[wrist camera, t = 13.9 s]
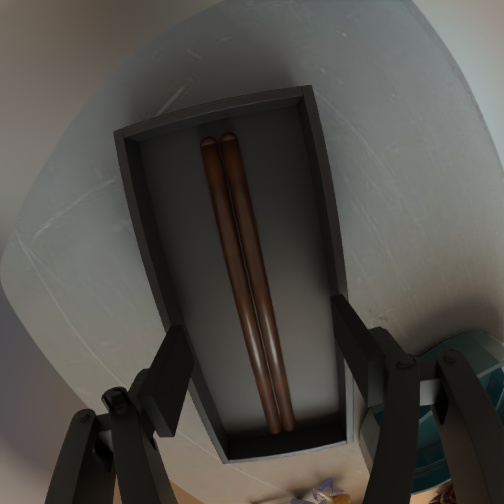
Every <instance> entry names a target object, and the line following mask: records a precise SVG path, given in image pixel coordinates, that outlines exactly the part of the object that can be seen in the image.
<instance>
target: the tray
mask: <svg viewBox="0 0 504 504" xmlns="http://www.w3.org/2000/svg"><path fill="white" fill-rule="evenodd" d="M225 132H233V133H234V134H236V135H237V137H238V140H239V145H240V150H241V154H242V159H243V164H244V169H245V173H246V178H247V183H248V188H249V192H250V197H251V202H252V207H253V211H254V216H255V221H256V226H257V231H258V236H259V240H260V245H261V250H262V255H263V260H264V265H265V270H266V275H267V280H268V285H269V290H270V295H271V300H272V305H273V310H274V315H275V320H276V325H277V330H278V335H279V340H280V345H281V350H282V355H283V360H284V365H285V371H286V376H287V381H288V386H289V391H290V396H291V402H292V407H293V412H294V417H295V423H296V427H295V429H294V430H292V431H286V430H284V428H283V425H282V421H281V417H280V412H279V408H278V404H277V399H276V395H275V391H274V387H273V382H272V378H271V373H270V369H269V365H268V360H267V356H266V352H265V347H264V343H263V338H262V334H261V330H260V325H259V321H258V316H257V312H256V307H255V303H254V298H253V294H252V289H251V285H250V280H249V276H248V271H247V267H246V262H245V258H244V253H243V249H242V244H241V240H240V235H239V230H238V226H237V221H236V217H235V212H234V208H233V203H232V198H231V194H230V189H229V184H228V180H227V175H226V170H225V166H224V161H223V156H222V152H221V147H220V137H221V135H222V134H224V133H225ZM113 133H114V139H115V145H116V150H117V156H118V161H119V166H120V171H121V176H122V181H123V185H124V190H125V194H126V199H127V203H128V207H129V212H130V216H131V220H132V224H133V228H134V231H135V235H136V239H137V243H138V246H139V250H140V254H141V257H142V261H143V264H144V267H145V271H146V274H147V277H148V281H149V284H150V287H151V290H152V293H153V296H154V300H155V303H156V306H157V309H158V312H159V315H160V317H161V320H162V323H163V326H164V329H165V332H166V334H167V332H168V330H169V328H170V326H175V325H183V328H184V331H185V334H186V337H187V340H188V343H189V346H190V349H191V352H192V354H193V357H194V360H195V363H194V367H193V370H192V374H191V378H190V381H189V385H188V390H189V393H190V395H191V397H192V400H193V402H194V404H195V407H196V409H197V411H198V413H199V416H200V418H201V420H202V422H203V424H204V426H205V429H206V431H207V433H208V435H209V437H210V439H211V441H212V443H213V445H214V447H215V449H216V451H217V453H218V455H219V457H220V459H221V461H222V463H223V464H229V463H242V462H251V461H260V460H268V459H275V458H281V457H287V456H293V455H299V454H304V453H309V452H314V451H318V450H323V449H327V448H331V447H336V446H340V445H343V444H346V443H351V442H353V421H354V405H353V375H352V373H351V371H350V369H349V367H348V364H347V362H346V360H345V358H344V356H343V354H342V352H341V350H340V348H339V346H338V344H337V342H336V339H335V337H334V331H333V321H332V312H331V303H330V297H331V296H335V295H340V294H343V296H344V297H345V298H346V300H347V301H348V291H347V281H346V272H345V263H344V255H343V247H342V239H341V232H340V225H339V218H338V212H337V205H336V199H335V193H334V187H333V182H332V176H331V171H330V165H329V160H328V155H327V150H326V145H325V140H324V136H323V131H322V126H321V122H320V118H319V113H318V109H317V105H316V101H315V97H314V93H313V89H312V85H305V86H297V87H289V88H282V89H275V90H269V91H263V92H257V93H251V94H246V95H241V96H236V97H231V98H226V99H222V100H217V101H213V102H209V103H205V104H201V105H197V106H193V107H189V108H185V109H182V110H178V111H174V112H171V113H167V114H164V115H161V116H157V117H154V118H151V119H148V120H145V121H142V122H139V123H136V124H133V125H130V126H127V127H124V128H123V129H119V130H116V131H114V132H113ZM207 136H211V137H214V138H215V139H216V140H217V142H218V146H219V150H220V155H221V160H222V164H223V169H224V174H225V178H226V183H227V188H228V192H229V197H230V202H231V206H232V211H233V215H234V220H235V225H236V229H237V234H238V238H239V243H240V247H241V252H242V256H243V261H244V265H245V270H246V274H247V279H248V283H249V288H250V292H251V297H252V301H253V305H254V310H255V314H256V319H257V323H258V327H259V332H260V336H261V341H262V345H263V349H264V354H265V358H266V362H267V367H268V371H269V375H270V379H271V384H272V388H273V392H274V397H275V401H276V405H277V409H278V414H279V418H280V422H281V426H282V429H281V431H280V432H279V433H277V434H273V433H271V432H270V431H269V428H268V425H267V421H266V418H265V414H264V411H263V407H262V403H261V400H260V396H259V393H258V389H257V385H256V381H255V378H254V374H253V370H252V366H251V363H250V359H249V355H248V351H247V347H246V344H245V340H244V336H243V332H242V328H241V324H240V320H239V316H238V312H237V308H236V304H235V300H234V296H233V292H232V288H231V284H230V280H229V276H228V271H227V267H226V263H225V259H224V255H223V250H222V246H221V242H220V238H219V233H218V229H217V225H216V220H215V216H214V211H213V207H212V202H211V198H210V193H209V189H208V184H207V180H206V175H205V170H204V166H203V161H202V156H201V152H200V146H199V145H200V142H201V140H202V139H203V138H205V137H207Z"/></svg>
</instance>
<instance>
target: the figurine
mask: <svg viewBox="0 0 504 504" xmlns="http://www.w3.org/2000/svg"><path fill="white" fill-rule="evenodd" d="M429 504H457V502H456V497H455V493H454V488H453V484H451V485H449V486H448V487H447V488H446V489H445V490H444V492H443V494H442V496H441V497H440V499H439V500H438V501H437V502H433V503H429Z"/></svg>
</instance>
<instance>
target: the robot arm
mask: <svg viewBox="0 0 504 504" xmlns="http://www.w3.org/2000/svg"><path fill="white" fill-rule="evenodd" d="M330 303H331V312H332V321H333V331H334V337H335V339H336V342H337V344H338V346H339V348H340V350H341V352H342V354H343V356H344V358H345V360H346V362H347V364H348V367H349V369H350V371H351V373H352V375H353V377H354V379H355V381H356V384H357V386H358V388H359V390H360V392H361V394H362V396H363V399H364V401H365V403H366V405H367V407H371V406H374V405H377V404H380V403H383V401H384V395H385V397H386V399H385V406H384V412H383V418H382V424H381V429H380V434H379V439H378V444H377V449H376V453H375V458H374V462H373V466H372V470H371V474H370V478H369V482H368V486H367V489H366V493H365V496H364V500H363V503H362V504H409V503H410V498H411V492H412V486H413V479H414V472H415V464H416V455H417V445H418V433H419V415H420V406H422V405H430V407H431V410H432V413H433V416H434V419H435V422H436V425H437V428H438V432H439V435H440V438H441V442H442V445H443V449H444V452H445V456H446V460H447V463H448V467H449V471H450V475H451V479H452V484H453V488H454V493H455V497H456V502H457V504H504V426H503V424H502V422H501V420H500V418H499V416H498V414H497V412H496V410H495V408H494V406H493V404H492V402H491V400H490V399H489V397H488V395H487V393H486V391H485V389H484V387H483V386H482V384H481V382H480V380H479V379H478V377H477V375H476V373H475V372H474V370H473V368H472V367H471V365H470V363H469V362H468V360H467V358H466V357H465V355H464V354H463V353H462V351H460V350H458V349H454V348H448V349H444V350H441V351H440V352H439V353H438V355H437V358H436V360H430V361H419V359H418V358H417V357H416V356H414V355H411V354H406V353H405V352H404V350H403V349H402V348H401V347H400V345H399V344H398V343H397V342H396V341H395V339H394V338H393V337H392V336H391V334H390V333H389V332H388V331H387V330H386V329H384V328H382V327H380V326H379V327H376V328H372V329H367V327H366V326H365V325H364V323H363V322H362V320H361V319H360V318H359V316H358V315H357V313H356V312H355V311H354V309H353V308H352V307H351V305H350V304H349V302H348V301H347V300H346V298H345V297H344V296H343V294H340V295H335V296H331V297H330ZM194 363H195V360H194V357H193V354H192V352H191V349H190V346H189V343H188V340H187V337H186V334H185V331H184V328H183V325H175V326H170V328H169V330H168V332H167V334H166V336H165V338H164V340H163V342H162V344H161V346H160V348H159V350H158V352H157V354H156V356H155V358H154V360H153V362H152V364H151V366H150V368H148V369H143V370H141V371H140V372H139V373H138V374H137V376H136V378H135V379H134V382H133V383H132V385H131V386H132V387H130V389H129V391H128V392H127V390H126V388H124V387H114V388H111V389H109V390H107V391H106V392H105V393H104V394H103V395H102V398H101V400H102V401H103V403H104V405H105V406H106V408H107V410H108V411H109V413H107V414H102V415H96V414H95V412H94V411H93V410H92V409H83V410H80V411H78V412H77V413H76V414H75V415H74V416H73V418H72V421H71V423H70V426H69V429H68V431H67V434H66V437H65V440H64V442H63V445H62V448H61V451H60V454H59V457H58V460H57V463H56V466H55V469H54V473H53V476H52V479H51V482H50V486H49V489H48V493H47V496H46V500H45V504H113V496H114V487H115V479H116V474H117V479H118V485H119V490H120V495H121V500H122V504H178V502H177V500H176V497H175V495H174V492H173V490H172V487H171V484H170V482H169V479H168V476H167V473H166V470H165V467H164V464H163V461H162V458H161V455H160V452H159V449H158V446H157V443H156V441H155V439H154V437H153V434H154V431H156V432H157V434H158V436H159V437H174V436H175V432H176V429H177V425H178V421H179V417H180V414H181V410H182V406H183V403H184V399H185V395H186V392H187V388H188V385H189V381H190V378H191V374H192V370H193V367H194Z"/></svg>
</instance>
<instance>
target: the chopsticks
mask: <svg viewBox="0 0 504 504" xmlns="http://www.w3.org/2000/svg"><path fill="white" fill-rule="evenodd" d="M199 146H200V152H201V156H202V161H203V166H204V170H205V175H206V180H207V184H208V189H209V193H210V198H211V202H212V207H213V211H214V216H215V220H216V225H217V229H218V233H219V238H220V242H221V246H222V250H223V255H224V259H225V263H226V267H227V271H228V276H229V280H230V284H231V288H232V292H233V296H234V300H235V304H236V308H237V312H238V316H239V320H240V324H241V328H242V332H243V336H244V340H245V344H246V347H247V351H248V355H249V359H250V363H251V366H252V370H253V374H254V378H255V381H256V385H257V389H258V393H259V396H260V400H261V403H262V407H263V411H264V414H265V418H266V421H267V425H268V428H269V431H270V432H271V433H273V434H277V433H279V432H280V431H281V429H282V426H281V422H280V418H279V414H278V409H277V405H276V401H275V397H274V392H273V388H272V384H271V379H270V375H269V371H268V367H267V362H266V358H265V354H264V349H263V345H262V341H261V336H260V332H259V327H258V323H257V319H256V314H255V310H254V305H253V301H252V297H251V292H250V288H249V283H248V279H247V274H246V270H245V265H244V261H243V256H242V252H241V247H240V243H239V238H238V234H237V229H236V225H235V220H234V215H233V211H232V206H231V202H230V197H229V192H228V188H227V183H226V178H225V174H224V169H223V164H222V160H221V155H220V150H219V146H218V142H217V140H216V139H215V138H214V137H211V136H207V137H205V138H203V139H202V140H201V142H200V145H199ZM220 147H221V152H222V156H223V161H224V166H225V170H226V175H227V180H228V184H229V189H230V194H231V198H232V203H233V208H234V212H235V217H236V221H237V226H238V230H239V235H240V240H241V244H242V249H243V253H244V258H245V262H246V267H247V271H248V276H249V280H250V285H251V289H252V294H253V298H254V303H255V307H256V312H257V316H258V321H259V325H260V330H261V334H262V338H263V343H264V347H265V352H266V356H267V360H268V365H269V369H270V373H271V378H272V382H273V387H274V391H275V395H276V399H277V404H278V408H279V412H280V417H281V421H282V425H283V428H284V430H286V431H292V430H294V429H295V427H296V423H295V417H294V412H293V407H292V402H291V396H290V391H289V386H288V381H287V376H286V371H285V365H284V360H283V355H282V350H281V345H280V340H279V335H278V330H277V325H276V320H275V315H274V310H273V305H272V300H271V295H270V290H269V285H268V280H267V275H266V270H265V265H264V260H263V255H262V250H261V245H260V240H259V236H258V231H257V226H256V221H255V216H254V211H253V207H252V202H251V197H250V192H249V188H248V183H247V178H246V173H245V169H244V164H243V159H242V154H241V150H240V145H239V140H238V137H237V135H236V134H234V133H233V132H225V133H224V134H222V135H221V137H220Z"/></svg>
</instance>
